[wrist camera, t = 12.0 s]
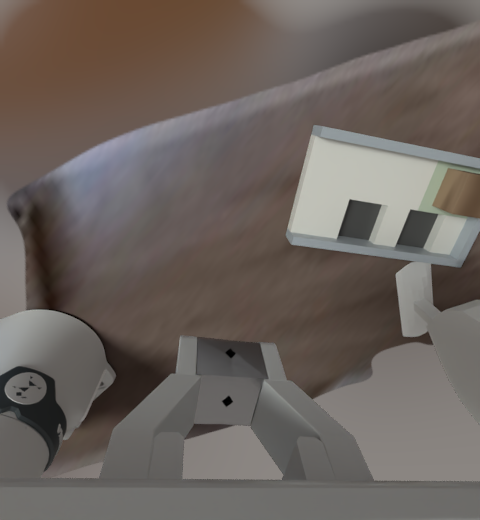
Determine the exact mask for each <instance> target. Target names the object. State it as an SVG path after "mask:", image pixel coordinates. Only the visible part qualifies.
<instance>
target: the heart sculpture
mask: <svg viewBox="0 0 480 520" xmlns="http://www.w3.org/2000/svg"><path fill="white" fill-rule="evenodd" d="M395 275H396V283H397V291H398V300H399V308H400V317H401V325H402V334H403V336H405V337H417V336H420V335H422V334H424V333H426V332H427V331H428V332H429V334H430V337H431V339H432V342H433V345H434V347H435V350H436V352H437V355H438V357H439V360H440V362H441V364H442V367H443V369H444V371H445V373H446V375H447V378H448V380H449V382H450V383H451V385H452V387H453V388H454V390H455V392H456V393H457V395H458V397H459V399H460V400H461V402H462V404H463V405H464V406H465V408H466V409H467V410H468V411H469V412H470V414H471V415H472V416H473V418H474V419H475V420H476V421H477V423H478V424H479V425H480V300H474V301H471V302H468V303H465V304H462V305H458V306H455V307H452V308H449V309H446V310H444V311H443V312H440V311H439V310H438V309H437V308H436V307H435V306H433V293H432V277H431V263H423V262H412V263H410V264H408V265H406V266H405V267H404V268H402V269H401V270H400V271H399V272H397V273H396V274H395Z"/></svg>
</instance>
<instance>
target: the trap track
mask: <svg viewBox="0 0 480 520" xmlns="http://www.w3.org/2000/svg"><path fill="white" fill-rule="evenodd" d="M448 168H451V169H456V170H461V171H466V172H472V173H477V174H480V158H475V157H470V156H465V155H460V154H455V153H450V152H445V151H441V150H436V149H431V148H426V147H421V146H416V145H411V144H406V143H402V142H397V141H392V140H387V139H382V138H377V137H372V136H367V135H362V134H358V133H353V132H348V131H343V130H338V129H333V128H328V127H323V126H317V125H314V126H313V130H312V134H311V138H310V142H309V146H308V150H307V154H306V158H305V162H304V165H303V169H302V173H301V177H300V181H299V185H298V189H297V193H296V197H295V201H294V205H293V208H292V212H291V216H290V220H289V224H288V228H287V232H286V237H287V238H288V240H289V241H290V243H291V244H292V245H299V246H306V247H314V248H321V249H328V250H336V251H343V252H350V253H357V254H365V255H372V256H379V257H387V258H394V259H401V260H409V261H416V262H423V263H431V264H438V265H445V266H453V267H460V268H461V266H462V264H463V262H464V260H465V258H466V256H467V255H468V253H469V251H470V249H471V247H472V245H473V243H474V241H475V239H476V237H477V235H478V233H479V231H480V218H473V217H467V216H461V215H455V214H451V213H448V212H446V211H444V210H441V209H439V208H437V207H434V206H432V204H433V202H434V200H435V197H436V195H437V193H438V190H439V188H440V186H441V183H442V181H443V179H444V176H445V174H446V172H447V169H448Z"/></svg>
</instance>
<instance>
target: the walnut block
mask: <svg viewBox="0 0 480 520" xmlns="http://www.w3.org/2000/svg"><path fill="white" fill-rule="evenodd" d="M432 206H434V207H437V208H439V209H441V210H444V211H446V212H448V213H451V214H455V215H461V216H467V217H473V218H480V174H477V173H472V172H466V171H461V170H456V169H451V168H448V169H447V172H446V174H445V176H444V179H443V181H442V183H441V186H440V188H439V190H438V193H437V195H436V197H435V200H434V202H433V204H432Z"/></svg>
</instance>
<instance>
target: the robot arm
mask: <svg viewBox="0 0 480 520" xmlns="http://www.w3.org/2000/svg"><path fill="white" fill-rule="evenodd" d="M115 378H116V374H115V372H114V370H113V369H112V367H111V366H110V365H109V364H108V362H107V360H106V356H105V351H104V347H103V345H102V342H101V341H100V339H99V337H98V336H97V335H96V333H95V332H94V331H93V330H92V329H91V328H90V327H88V326H87V325H86V324H84V323H83V322H81V321H80V320H78V319H76V318H74V317H72V316H70V315H67V314H64V313H61V312H57V311H51V310H28V311H23V312H20V313H16V314H14V315H11V316H9V317H6V318H2V319H0V520H480V482H469V481H468V482H467V481H465V482H463V481H460V482H459V481H454V482H453V481H374V479H373V477H372V475H371V473H370V471H369V469H368V466H367V464H366V462H365V460H364V458H363V455H362V453H361V451H360V449H359V447H358V444H357V442H356V440H355V438H354V437H353V436H352V435H351V434H350V433H349V432H348V431H347V430H346V429H345V428H343V427H342V426H341V425H340V424H339V423H338V422H337V421H336V420H334V419H333V418H332V417H331V416H330V415H329V414H327V412H326V411H324V410H323V409H322V408H321V407H320V406H319V405H318V404H317V403H316V402H314V401H313V400H312V399H311V398H310V397H309V396H308V395H307V394H305V393H304V392H303V391H302V390H301V389H300V388H299V387H298V386H297V385H295V384H294V383H293V382H292V381H287V379H286V376H285V373H284V369H283V366H282V363H281V360H280V357H279V353H278V350H277V347H276V345H275V344H274V343H267V342H245V341H232V340H223V339H214V338H204V337H193V336H182V335H181V336H180V342H179V349H178V357H177V365H176V372H175V374H170V375H169V376H168V377H167V378H166V379H165V380H164V381H163V382H162V383H161V384H160V385H159V386H158V387H157V388H156V389H154V390H153V391H152V392H151V393H150V394H149V395H148V396H147V397H146V398H145V399H144V400H143V401H142V402H141V403H140V404H139V405H138V406H137V407H136V408H135V409H134V410H132V411H131V412H130V413H129V414H128V415H127V416H126V417H125V418H124V419H123V420H122V421H121V422H120V423H119V424H118V425H117V426H116V427H115V428H114V429H113V432H112V435H111V439H110V442H109V446H108V449H107V452H106V456H105V459H104V463H103V466H102V470H101V473H100V476H99V479H96V478H95V479H94V478H85V479H84V478H41V476H42V474H43V472H45V471H46V470H47V469H48V468H49V466H50V465H51V463H52V461H53V459H54V458H55V455H57V453H58V451H59V449H60V447H61V444H62V440H67V439H68V438H69V437H70V436H71V434H72V433H73V431H74V429H75V428H78V427H79V426H80V424H81V423H82V421H83V420H84V419H85V417H86V416H87V413H88V411H89V409H90V407H91V404H92V402H93V400H95V399H96V398H97V397H98V396H99V395H100V394H101V393H102V392H104V391H105V390H106V389H107V388H108V387H109V386H110V385H111V384H112V383H113V382H114V380H115ZM194 424H229V425H245V426H251V429H252V430H253V431H254V433H255V434H256V436H257V437H258V439H259V440H260V442H261V443H262V444H263V446H264V447H265V449H266V450H267V452H268V453H269V455H270V456H271V457H272V459H273V460H274V462H275V463H276V465H277V466H278V467H279V469H280V470H281V472H282V473H283V475H284V476H283V478H282V480H218V479H217V480H213V479H212V480H211V479H207V480H206V479H182V470H183V450H184V439H185V437H186V436H187V434H188V433H189V431H190V430H191V428H192V427H193V425H194Z"/></svg>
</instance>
